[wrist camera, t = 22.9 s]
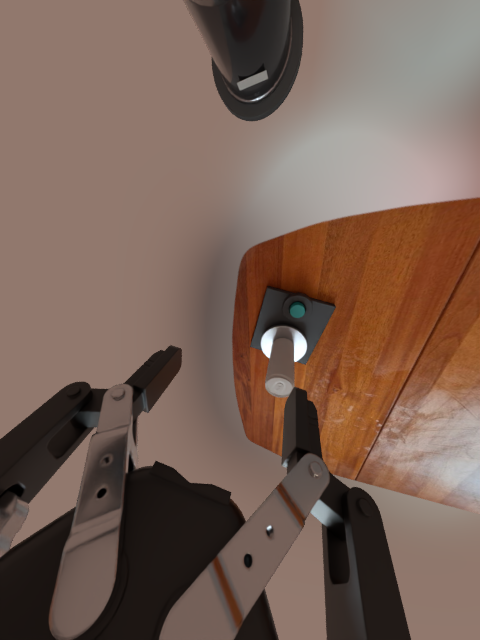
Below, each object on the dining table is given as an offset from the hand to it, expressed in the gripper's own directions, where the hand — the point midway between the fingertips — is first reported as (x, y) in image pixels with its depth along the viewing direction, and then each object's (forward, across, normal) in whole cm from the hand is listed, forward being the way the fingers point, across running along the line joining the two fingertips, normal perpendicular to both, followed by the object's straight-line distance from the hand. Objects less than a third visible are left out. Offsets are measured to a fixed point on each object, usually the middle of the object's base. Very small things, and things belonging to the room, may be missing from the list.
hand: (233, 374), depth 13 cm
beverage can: (+25, -7, +15) cm, 30 cm away
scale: (+29, -7, +12) cm, 32 cm away
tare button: (+26, -7, +6) cm, 28 cm away
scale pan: (+26, -7, +15) cm, 31 cm away
